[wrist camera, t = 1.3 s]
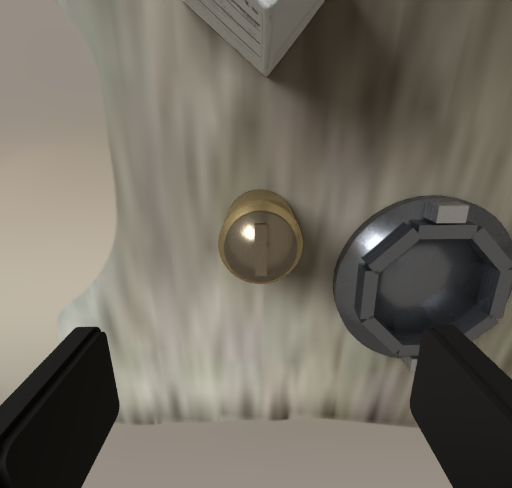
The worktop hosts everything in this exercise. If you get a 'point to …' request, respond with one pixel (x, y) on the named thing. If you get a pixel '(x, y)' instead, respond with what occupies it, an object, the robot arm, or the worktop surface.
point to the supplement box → (258, 26)
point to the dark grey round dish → (423, 274)
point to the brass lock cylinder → (260, 238)
